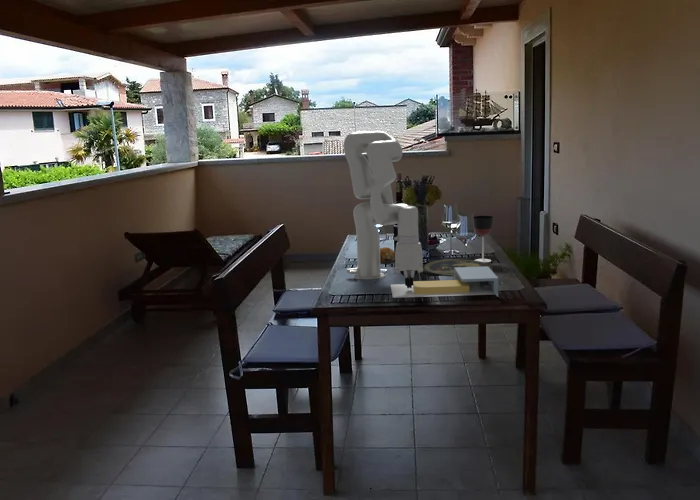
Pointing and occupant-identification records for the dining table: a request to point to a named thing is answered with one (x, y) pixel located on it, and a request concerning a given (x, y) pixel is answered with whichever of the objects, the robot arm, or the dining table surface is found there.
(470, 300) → the dining table surface
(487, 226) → the wineglass
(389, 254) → the bread roll
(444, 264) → the decorative plate
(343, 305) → the dining table surface
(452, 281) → the ochre panel
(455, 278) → the overhang dock
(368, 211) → the robot arm
